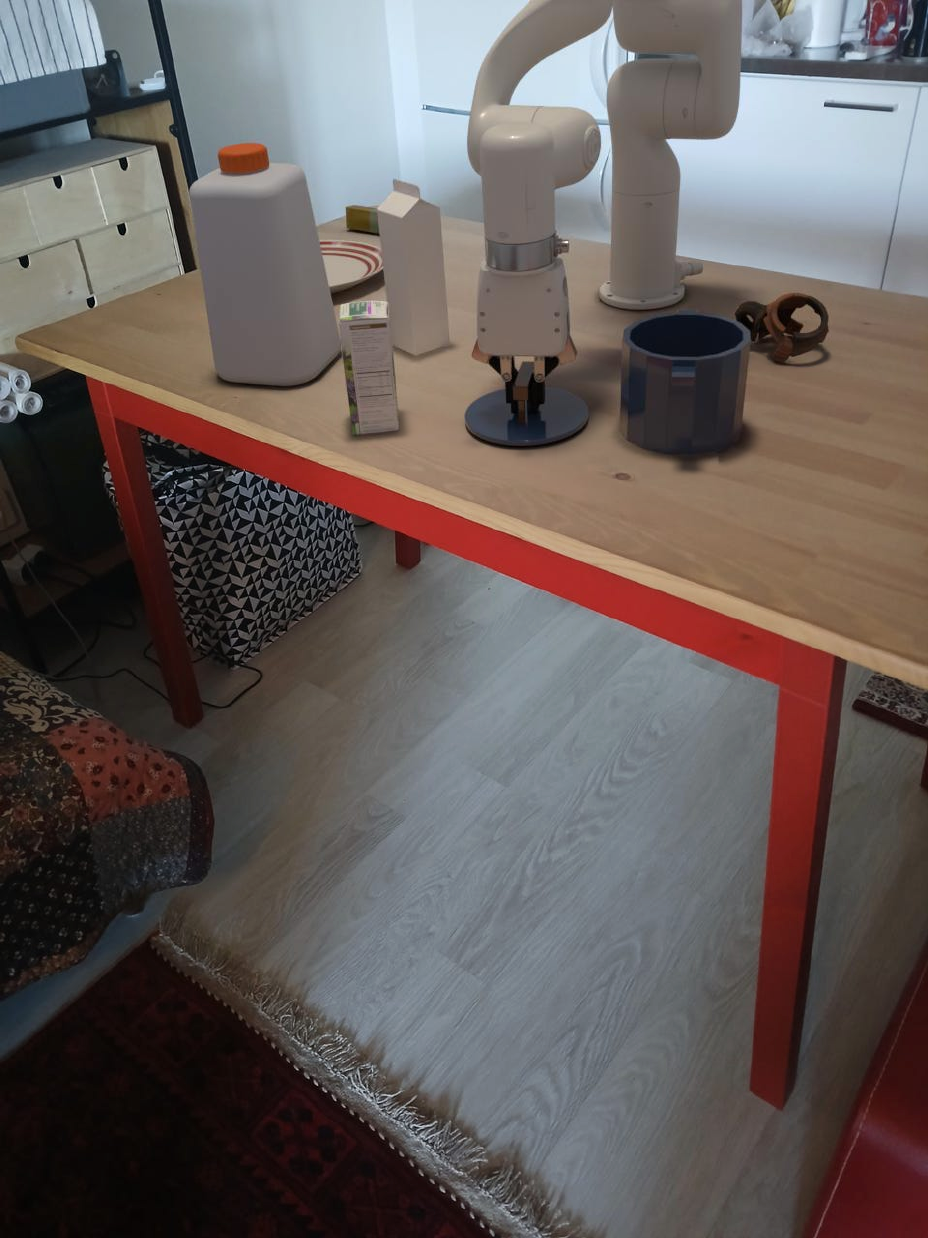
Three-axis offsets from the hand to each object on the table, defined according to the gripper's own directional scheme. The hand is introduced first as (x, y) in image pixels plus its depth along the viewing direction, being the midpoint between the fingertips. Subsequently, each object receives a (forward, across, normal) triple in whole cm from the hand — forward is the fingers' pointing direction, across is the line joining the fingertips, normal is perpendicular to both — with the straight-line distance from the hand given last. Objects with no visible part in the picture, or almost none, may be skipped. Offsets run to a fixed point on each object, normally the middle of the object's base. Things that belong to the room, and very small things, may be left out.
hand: (525, 407), depth 121 cm
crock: (+2, -18, 0) cm, 18 cm away
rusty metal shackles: (+3, -30, -24) cm, 39 cm away
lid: (+1, 0, 0) cm, 1 cm away
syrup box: (+2, +18, +2) cm, 18 cm away
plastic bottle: (+3, +37, -16) cm, 40 cm away
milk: (+3, +18, -23) cm, 30 cm away
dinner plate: (+3, +44, -50) cm, 67 cm away
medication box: (+3, +40, -77) cm, 86 cm away
